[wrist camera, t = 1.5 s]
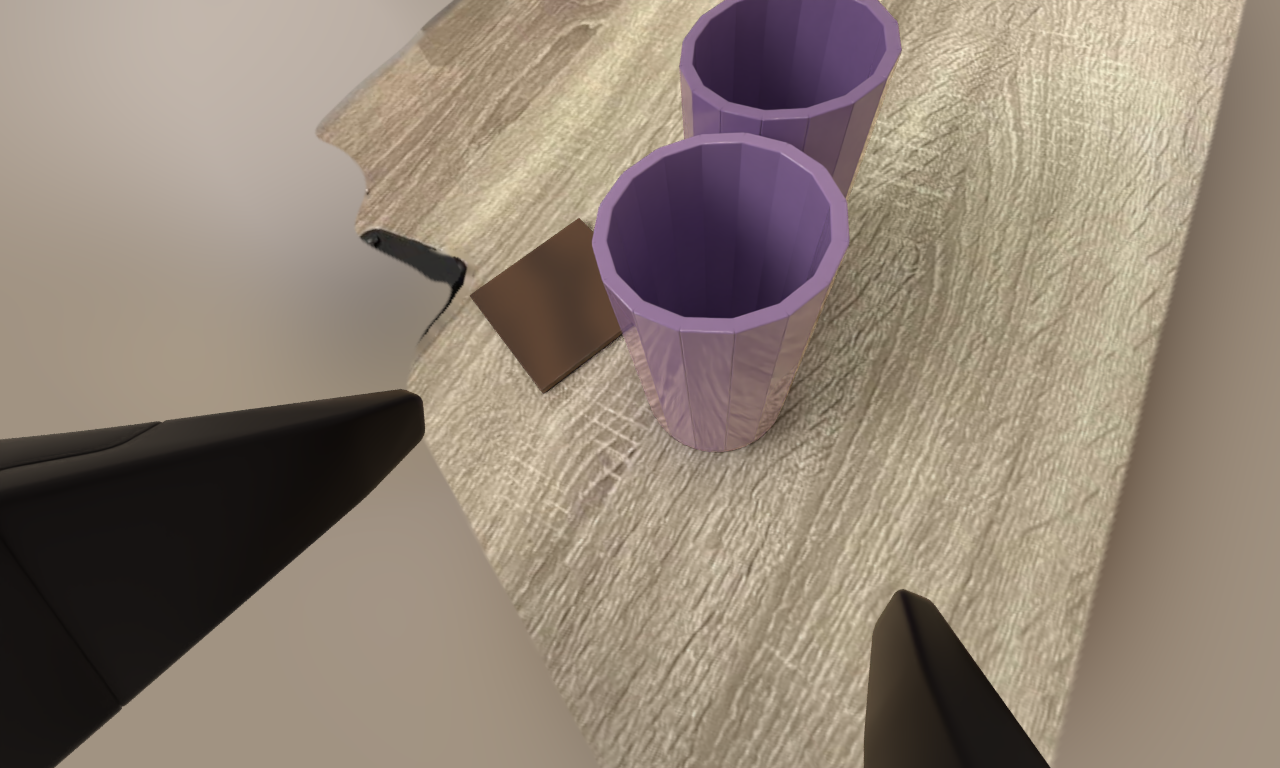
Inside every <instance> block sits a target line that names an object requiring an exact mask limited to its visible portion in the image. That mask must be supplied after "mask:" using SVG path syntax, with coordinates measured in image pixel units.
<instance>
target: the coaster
mask: <svg viewBox="0 0 1280 768" xmlns="http://www.w3.org/2000/svg"><path fill="white" fill-rule="evenodd" d="M593 234H594V232H593V231H592V230H591V229H590V228H589V227H588V226H587V225H586V224H585V223H584V222H583V221H582V220H581V219H580V218H578V219H577V220H575V221H574V222H573V223H571V224H570V225H568V226H567V227H565V228H564V229H563V230H561V231H560V232H558V233H557V234H556V235H554V236H553V237H551V238H550V239H549V240H547V241H546V242H544V243H543V244H541V245H540V246H539V247H537V248H536V249H534V250H533V251H532V252H530V253H529V254H527V255H526V256H524V257H523V258H522V259H520V260H519V261H517V262H516V263H515V264H513V265H512V266H510V267H509V268H508V269H506V270H505V271H503V272H502V273H500V274H499V275H498V276H496V277H495V278H493V279H492V280H491V281H489V282H488V283H486V284H485V285H484V286H482V287H481V288H479V289H478V290H476V291H475V292H474V293H472V294H471V295H470V297H471V298H472V300H473V301H474V302H475V304H476V305H477V306H478V308H479V309H480V310H481V312H482V313H483V314H484V316H485V317H486V318H487V320H488V321H489V322H490V324H491V325H492V326H493V328H494V329H495V330H496V332H497V333H498V334H499V336H500V337H501V338H502V340H503V341H504V342H505V344H506V345H507V346H508V348H509V349H510V350H511V352H512V353H513V354H514V356H515V357H516V358H517V360H518V361H519V362H520V364H521V365H522V366H523V368H524V369H525V370H526V372H527V373H528V374H529V376H530V377H531V378H532V380H533V381H534V382H535V384H536V385H537V386H538V388H539V389H540V390H541V392H542V393H545V392H546V391H547V390H549V389H550V388H551V387H553V386H554V385H555V384H557V383H558V382H559V381H561V380H562V379H563V378H565V377H566V376H567V375H568V374H570V373H571V372H572V371H574V370H575V369H576V368H578V367H579V366H580V365H582V364H583V363H584V362H586V361H587V360H588V359H590V358H591V357H592V356H593V355H595V354H596V353H597V352H599V351H600V350H601V349H603V348H604V347H605V346H607V345H608V344H609V343H611V342H612V341H613V340H614V339H616V338H617V337H618V336H620V335H621V334H622V331H621V329H620V326H619V323H618V321H617V318H616V315H615V313H614V310H613V308H612V305H611V302H610V300H609V297H608V294H607V292H606V289H605V287H604V284H603V281H602V278H601V275H600V272H599V268H598V265H597V261H596V258H595V254H594V251H593V248H592V239H593Z"/></svg>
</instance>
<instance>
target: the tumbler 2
mask: <svg viewBox="0 0 1280 768" xmlns="http://www.w3.org/2000/svg"><path fill="white" fill-rule="evenodd" d="M849 243H850V238H849V221H848V204H847V202H846V199H845V197H844V196H843V194H842V192H841V191H840V189H839V188H838V186H837V185H836V183H835V181H834V180H833V178H832V177H831V175H830V174H829V172H828V170H827V169H826V168H825V167H824V166H823V165H822V164H820V163H819V162H817V161H816V160H814V159H813V158H811V157H810V156H808V155H807V154H805V153H804V152H802V151H800V150H799V149H797V148H796V147H794V146H793V145H791V144H788V143H787V142H783V141H779V140H775V139H771V138H767V137H763V136H759V135H755V134H751V133H744V132H739V133H717V134H701V135H696V136H693V137H690V138H687V139H684V140H681V141H678V142H675V143H672V144H669V145H666V146H663V147H660V148H658V149H656V150H654V151H653V152H651V153H650V154H648V155H647V156H646V157H644V158H643V159H641V160H640V161H638V162H637V163H636V164H634V165H633V166H631V167H630V168H629V169H627V170H626V171H624V172H623V174H621V175H620V177H619V178H618V180H617V181H616V182H615V184H614V185H613V187H612V188H611V189H610V191H609V192H608V194H607V195H606V197H605V198H604V199H603V201H602V202H601V204H600V206H599V209H598V214H597V219H596V224H595V229H594V234H593V239H592V248H593V251H594V254H595V258H596V261H597V265H598V268H599V272H600V275H601V278H602V281H603V284H604V287H605V289H606V292H607V294H608V297H609V300H610V302H611V305H612V308H613V310H614V313H615V315H616V318H617V321H618V323H619V326H620V329H621V331H622V334H623V336H624V339H625V342H626V344H627V347H628V349H629V352H630V355H631V357H632V360H633V363H634V365H635V368H636V370H637V373H638V376H639V378H640V381H641V384H642V386H643V389H644V391H645V394H646V397H647V399H648V402H649V404H650V407H651V410H652V412H653V414H654V416H655V417H656V419H657V420H658V422H659V423H660V425H661V426H662V427H663V429H664V430H665V431H666V432H667V433H668V434H669V435H671V436H672V437H673V438H674V439H676V440H677V441H679V442H681V443H682V444H684V445H687V446H689V447H691V448H694V449H698V450H701V451H708V452H725V451H732V450H736V449H739V448H742V447H745V446H747V445H749V444H751V443H753V442H755V441H756V440H758V439H759V438H760V437H762V436H763V435H764V434H765V433H766V432H767V431H768V430H769V429H770V428H771V427H772V425H773V424H774V423H775V421H776V419H777V417H778V416H779V413H780V411H781V409H782V407H783V405H784V403H785V401H786V398H787V396H788V393H789V391H790V388H791V386H792V384H793V381H794V379H795V376H796V374H797V371H798V369H799V367H800V364H801V362H802V359H803V357H804V354H805V352H806V349H807V347H808V345H809V342H810V340H811V337H812V335H813V332H814V330H815V327H816V325H817V323H818V320H819V318H820V315H821V313H822V310H823V308H824V305H825V303H826V301H827V298H828V296H829V293H830V291H831V288H832V286H833V283H834V281H835V279H836V276H837V274H838V271H839V269H840V266H841V264H842V261H843V259H844V257H845V254H846V252H847V249H848V247H849Z"/></svg>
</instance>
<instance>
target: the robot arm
mask: <svg viewBox="0 0 1280 768" xmlns="http://www.w3.org/2000/svg"><path fill="white" fill-rule="evenodd" d="M424 433H425V421H424V409H423V401H422V399H421V397H420V396H418V395H417V394H414V393H412V392H409V391H407V390H402V389H399V390H391V391H384V392H376V393H369V394H361V395H354V396H346V397H339V398H332V399H323V400H316V401H309V402H301V403H293V404H286V405H278V406H271V407H264V408H256V409H248V410H241V411H233V412H226V413H219V414H211V415H203V416H196V417H189V418H181V419H174V420H166V421H164V422H150V423H142V424H135V425H128V426H119V427H111V428H104V429H95V430H87V431H78V432H69V433H60V434H50V435H41V436H32V437H22V438H12V439H2V440H0V768H54V767H56V766H57V765H58V764H59V763H60V762H61V761H63V760H64V759H65V758H66V757H67V756H68V755H70V753H72V752H73V751H74V750H75V749H76V748H78V747H79V746H80V745H81V744H82V743H83V742H85V741H86V740H87V739H88V738H89V737H90V736H91V735H93V734H94V733H95V732H96V731H97V730H98V729H100V728H101V727H102V726H103V725H104V724H105V723H106V722H108V721H109V720H110V719H111V718H112V717H113V716H114V715H116V714H117V713H118V712H119V711H120V710H121V709H122V706H125V705H126V704H128V703H129V702H130V701H131V700H132V699H133V698H135V697H136V696H137V695H138V694H139V693H140V692H141V691H143V690H144V689H145V688H146V687H147V686H148V685H150V684H151V683H152V682H153V681H154V680H155V679H157V678H158V677H159V676H160V675H161V674H162V673H163V672H165V671H166V670H167V669H168V668H169V667H170V666H171V665H173V664H174V663H175V662H176V661H177V660H178V659H180V658H181V657H182V656H183V655H184V654H185V653H187V652H188V651H189V650H190V649H191V648H192V647H193V646H195V645H196V644H197V643H198V642H199V641H200V640H202V639H203V638H204V637H205V636H206V635H207V634H209V633H210V632H211V631H212V630H213V629H214V628H215V627H217V626H218V625H219V624H220V623H221V622H222V621H223V620H225V619H226V618H227V617H228V616H229V615H230V614H232V613H233V612H234V611H235V610H236V609H237V608H238V607H240V606H241V605H242V604H243V603H244V602H245V601H247V599H249V598H250V597H251V596H252V595H254V594H255V593H256V592H257V591H258V590H259V589H261V588H262V587H263V586H264V585H265V584H266V583H267V582H268V581H270V580H271V579H272V578H273V577H274V576H276V575H277V574H278V573H279V572H280V571H281V570H282V569H284V568H285V567H286V566H287V565H288V564H289V563H291V562H292V561H293V560H294V559H295V558H296V557H297V556H298V555H300V554H301V553H302V552H303V551H304V550H306V548H308V547H309V546H310V545H311V544H312V543H314V542H315V541H316V540H317V539H318V538H319V537H321V536H322V535H323V534H324V533H325V532H326V531H328V530H329V529H330V528H331V527H332V526H333V525H334V524H336V523H337V522H338V521H339V520H340V519H341V518H342V517H343V516H345V515H346V514H347V513H348V512H349V511H351V510H352V509H353V508H354V507H355V506H356V505H358V504H359V503H360V502H361V501H362V500H363V499H364V498H365V497H366V496H367V495H368V494H369V493H370V492H371V491H372V490H373V489H374V488H376V487H377V485H378V484H379V483H380V482H381V481H382V480H383V479H384V478H385V477H386V476H387V475H388V474H389V473H390V472H391V471H392V470H393V469H394V468H395V467H396V466H397V465H398V464H399V463H400V461H402V460H403V458H405V456H407V455H408V453H409V452H410V451H411V450H412V449H413V448H414V447H415V446H416V445H417V444H418V443H419V442H420V441H421V440H422V438H423V436H424ZM864 768H1050V766H1049V765H1048V764H1047V762H1046V761H1045V759H1044V758H1043V756H1042V755H1041V754H1040V752H1039V751H1038V749H1037V748H1036V747H1035V745H1034V744H1033V742H1032V741H1031V740H1030V738H1029V737H1028V735H1027V734H1026V733H1025V731H1024V730H1023V728H1022V727H1021V726H1020V724H1019V723H1018V721H1017V720H1016V719H1015V717H1014V716H1013V714H1012V713H1011V712H1010V710H1009V709H1008V707H1007V706H1006V704H1005V703H1004V702H1003V700H1002V699H1001V697H1000V696H999V695H998V693H997V692H996V690H995V689H994V688H993V686H992V685H991V683H990V682H989V681H988V679H987V678H986V676H985V675H984V674H983V672H982V671H981V669H980V668H979V667H978V665H977V664H976V662H975V661H974V660H973V658H972V657H971V655H970V654H969V652H968V651H967V650H966V648H965V647H964V645H963V644H962V643H961V641H960V640H959V638H958V637H957V636H956V634H955V633H954V631H953V630H952V629H951V627H950V626H949V624H948V623H947V622H946V620H945V619H944V617H943V616H942V615H941V613H940V612H939V610H938V609H937V608H936V606H935V605H934V604H933V603H932V602H931V601H930V600H929V599H927V598H925V597H922V596H920V595H917V594H915V593H912V592H910V591H907V590H904V589H902V590H898V591H897V592H896V593H895V594H894V595H893V597H892V598H891V600H890V602H889V603H888V605H887V606H886V608H885V610H884V611H883V613H882V614H881V616H880V618H879V619H878V621H877V623H876V625H875V628H874V631H873V636H872V646H871V658H870V670H869V682H868V694H867V706H866V718H865V732H864Z"/></svg>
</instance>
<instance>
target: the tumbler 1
mask: <svg viewBox="0 0 1280 768" xmlns="http://www.w3.org/2000/svg"><path fill="white" fill-rule="evenodd" d="M901 51H902V48H901V40H900V33H899V26H898V23H897V20H896V19H895V18H894V17H893V16H892V15H891V14H890V13H889V12H888V11H887V9H886V8H885V7H884V6H883V5H882V4H881V3H880V2H879V1H878V0H724V1H723V2H721V3H720V4H718V5H717V6H715V7H714V8H712V9H711V10H709V11H708V12H706V13H705V14H703V15H702V16H701V17H700V18H699V19H698V21H697V22H696V23H695V25H694V26H693V27H692V29H691V30H690V31H689V33H688V34H687V36H686V37H685V38H684V40H683V43H682V50H681V58H680V65H679V69H680V83H681V98H682V112H683V127H684V139H687V138H690V137H693V136H696V135H701V134H717V133H739V132H744V133H751V134H755V135H759V136H763V137H767V138H771V139H775V140H779V141H783V142H787V143H788V144H791V145H793V146H794V147H796V148H797V149H799V150H800V151H802V152H804V153H805V154H807V155H808V156H810V157H811V158H813V159H814V160H816V161H817V162H819V163H820V164H822V165H823V166H824V167H825V168H826V169H827V170H828V172H829V174H830V175H831V177H832V178H833V180H834V181H835V183H836V185H837V186H838V188H839V189H840V191H841V192H842V194H843V196H844V197H845V199H846V202H847V203H848V200H849V197H850V194H851V192H852V189H853V186H854V183H855V180H856V178H857V175H858V172H859V169H860V166H861V164H862V161H863V158H864V155H865V153H866V150H867V147H868V144H869V141H870V139H871V136H872V133H873V130H874V127H875V125H876V122H877V119H878V116H879V113H880V111H881V108H882V105H883V102H884V99H885V97H886V94H887V91H888V88H889V86H890V83H891V80H892V77H893V74H894V72H895V69H896V66H897V63H898V60H899V58H900V55H901Z"/></svg>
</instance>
